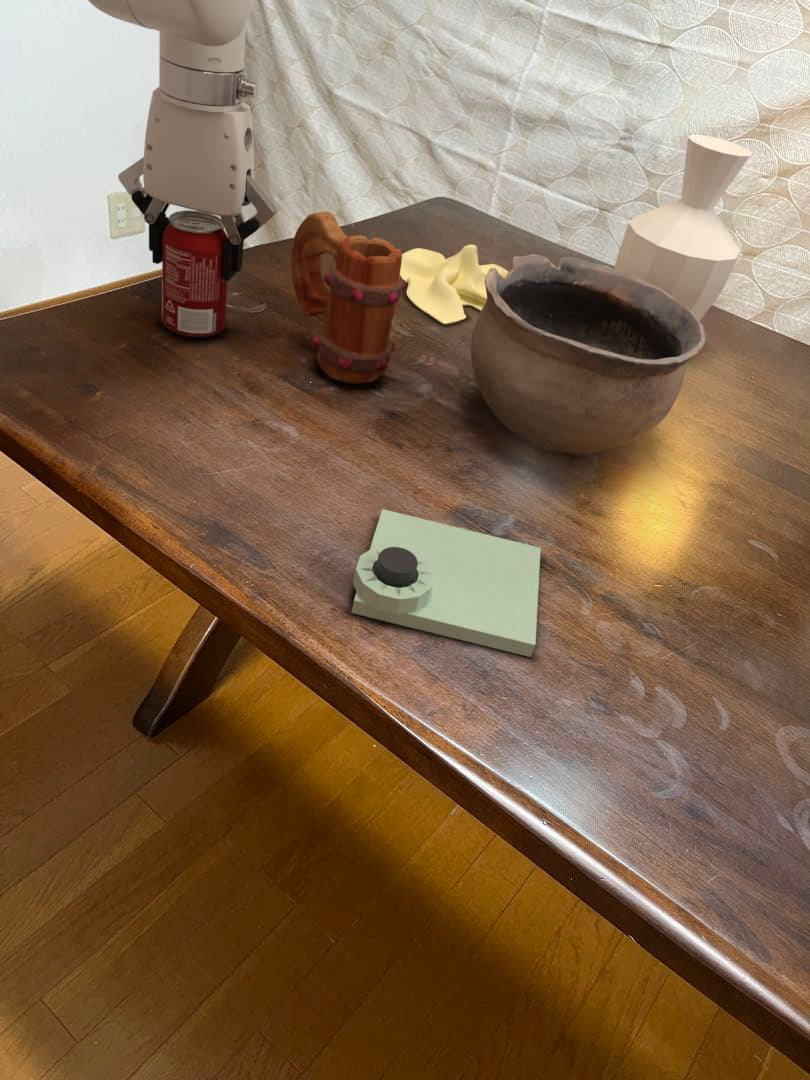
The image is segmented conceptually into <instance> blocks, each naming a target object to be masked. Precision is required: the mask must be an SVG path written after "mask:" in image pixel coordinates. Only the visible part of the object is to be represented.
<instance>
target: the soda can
mask: <svg viewBox="0 0 810 1080" xmlns="http://www.w3.org/2000/svg"><path fill="white" fill-rule="evenodd" d="M168 217H169V222H170V223H169V225H168V226H167V227H166V229H165V230H164V232H163V235H162V262H161V270H162V271H161V322H162V325H163V326H164V327H165V328H166V329H168V330H169V331H170V332H171V333H174V334H176V335H178V336H180V337H183V338H187V339H194V340H201V339H202V340H203V339H207V338H211V337H213V336H217V335H218V334H221V332H222V331H224V330H225V327H226V316H227V315H226V314H227V298H228V281H226V280H224V279H223V278H222V268H223V248H224V243H225V242H226V241H227V240H228V235H227V233H226V230H225V227H224V225H223V222H222V220H221V217H220V216H218V215H213V214H209V213H205V212H201V211H197V210H179V211H175V212H173V213H171V214H169V216H168Z"/></svg>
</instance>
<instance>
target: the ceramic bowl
mask: <svg viewBox="0 0 810 1080" xmlns="http://www.w3.org/2000/svg"><path fill="white" fill-rule="evenodd" d="M485 286H486V293H487V301H486V303H485V305H484V307H483V309H482V310H481V311H480V312H479V314H478V317H477V320H476V321H475V324H474V327H473V330H472V334H471V344H470V357H471V361H470V362H471V365H472V369H473V373H474V376H475V379H476V384H477V386H478V388H479V391H480V393H481V395H482V398H483V399H484V401H485V402H486V404H487V406H488V407H489V408H490V410H491V411H492V413H493V414H494V415H495V417H496V418H497V419H498V421H500V423H501V424H502V425H503V426H504V427H505V428H507V429H508V431H510V432H511V433H512V434H514V435H515V436H516V437H518V438H519V439H521V440H523V441H524V442H526V443H528V444H531V445H534V446H536V447H538V448H542V449H545V450H548V451H552V452H557V453H564V454H574V455H575V454H577V455H579V454H580V455H581V454H595V453H599V452H604V451H607V450H610V449H613V448H616V447H621V446H625V445H628V444H631V443H632V442H635V441H636V440H638V439H639V438H642V437H643V436H644V435H646V434H647V433H649V432H650V431H652V430H653V429H654V428H656V427H657V426H658V425H659V424H660V423H661V422H662V421H663V420H664V419H666V417H667V415H668V414H669V413H670V411H671V409H672V408H673V406H674V404H675V403H676V401H677V398H678V397H679V395H680V391H681V389H682V385H683V381H684V378H685V374H686V373H685V372H686V367H687V366H686V364H687V363H688V362H689V361H690V360H692V359H693V358H694V357H695V356H696V355H698V353H699V352H700V351H701V350H703V347H704V345H705V342H706V341H707V337H706V332H705V326H704V325H703V324H702V322H701V321H699V320H698V318H697V317H696V315H695V314H694V312H693V311H691V310H690V309H688V308H686V307H685V306H683V305H681V304H680V303H678V302H677V301H676V300H675V299H674V298H673V297H671V296H670V295H669V294H668V293H666V292H665V291H664V290H663V289H661V288H658V287H656V286H654V285H651V284H649V283H647V282H645V281H643V280H640V279H638V278H636V277H633V276H630V275H627V274H624V273H621V272H619V271H616V270H615V268H614V269H613V268H612V267H610V266H608V265H605V264H599V263H595V262H593V261H589V260H585V259H582V258H578V257H573V256H563V257H560V258H559V262H558V267H557V266H556V265H554V264H553V263H552V262H551V261H550V260H549V259H548V257H546V256H543V255H541V254H537V253H532V254H528V255H524V256H513V257H512V259H511V264H510V269H509V271H508V274H507V277H506V278H504V277H502V276H501V275H500V274H499V273H498V271H497V270H496V268H491V269H489V271H488V273H487V275H486V278H485Z"/></svg>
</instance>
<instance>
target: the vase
mask: <svg viewBox="0 0 810 1080" xmlns="http://www.w3.org/2000/svg"><path fill="white" fill-rule="evenodd" d="M752 155H753V152H751V151H750V150H749V149H748V148H747V147H744V146H743V145H740V144H738V143H736V142H733V141H729V140H726V139H723V138H719V137H717V136H716V137H715V136H709V135H705V134H689V135H688V136H687V144H686V151H685V161H684V162H685V163H684V170H683V178H682V179H683V181H682V187H681V188H682V189H681V197H680V199H678V200H675V201H673V202H670V203H667V204H664V205H661V206H658V207H657V208H654V209H651V210H648V211H646V212H644V213H641V214H638V215H635V216H634V217H633V218H632V219H631V220H630V221H629V222H628V223H627V227H626V229H625V232H624V236H623V238H622V241H621V244H620V247H619V250H618V253H617V258H616V261H615V263H614V270H616V271H619V272H621V273H624V274H627V275H630V276H633V277H636V278H638V279H640V280H643V281H645V282H647V283H649V284H651V285H654V286H656V287H658V288H661V289H663V290H664V291H665V292H666V293H668V294H669V295H670V296H671V297H673V298H674V299H675V300H676V301H677V302H678V303H680V304H681V305H683V306H685V307H686V308H688V309H690V310H691V311H693V312H694V314H695V315H696V317H697V318H698V320H699V322H701V320H702V318H703V317H704V316H705V315H706V313H707V312H708V311H709V310H710V308H711V307H712V306H713V304H714V303H715V302H716V301H717V299H718V298H719V296H720V294H721V293H722V292H723V290H724V288H725V287H726V284H727V282H728V280H729V278H730V276H731V274H732V271H733V270H734V267H735V265H736V263H737V260H738V258H739V256H740V254H741V250H740V248H739V247H738V245H737V243H736V242H735V240H734V238H733V237H732V236H731V234H730V232H729V231H728V229H727V227H726V226H725V224H724V223H723V221H722V220H721V219H720V217H719V215H718V214H717V212H716V210H715V207H716V205H717V204H718V203H719V202H720V200H721V198H722V197H723V195H724V194H725V193H726V192H727V190H728V188H729V187H730V186H731V184H732V183H733V181H734V180H735V178H736V177H738V175H739V173H740V172H741V170H742V169H743V167H744V166H745V165H746V163H747V162H748V161H749V159H750V157H751V156H752Z"/></svg>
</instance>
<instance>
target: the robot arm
mask: <svg viewBox="0 0 810 1080" xmlns="http://www.w3.org/2000/svg"><path fill="white" fill-rule="evenodd" d="M87 1H88V2H89V3H90V4H91V5H92V6H93V7H94V8H96V9H97V10H99V11H100V12H102V13H104V14H105V15H107V16H109V17H112V18H114V19H117V20H120V21H122V22H126V23H129V24H132V25H135V26H138V27H141V28H145V29H149V30H155V31H157V32H159V37H158V39H159V42H158V43H159V50H158V51H159V58H158V59H159V62H158V66H159V69H158V70H159V71H158V72H159V73H158V74H159V75H158V77H159V78H158V81H159V82H158V86H157V87H156V88H155V89H154V90H152V95H151V99H150V103H149V109H148V113H147V121H146V129H145V137H144V146H143V147H144V149H143V157H141V158H139V160H137V161H135V162H134V163H133V164H132V165H130V166H128V167H127V168H126V169H124V170H123V171H121V172H119V174H118V175H117V178H118V180H119V182H120V183H121V185H122V186H123V189H125V191H126V192H127V194H129V195H130V197H131V200H132V203H133V204H134V205H135V207H137V209H138V210H139V212H140V213H141V214H142V215H143V220H144V222H145V223H146V224H148V250H149V251H150V252H151V253H152V258H151V259H152V260H151V261H152V263H153V264H155V265H159V264H162V235H163V232H164V230H165V229H166V227H167V226H168V225H169V223H170V222H169V216H167V214H166V212H167V211H168V209H169V207H170V206H171V205H173V206H176V207H181V208H185V209H188V210H191V211H200V212H205V213H209V214H212V215H215V216H217V217H219V218H220V219H221V220H222V222H223V225H224V231H225V233H226V235H227V236H228V240H227V241H226V242H225V243H224V248H223V268H222V278H223V279H224V280H226V281H227V282H230V281H231V279H232V278H233V277H234V276H236V274H237V273H239V272H241V270H242V268H243V258H244V244H245V243H244V242H245V240H246V239H247V238H249V237H250V236H252V235H253V234H254V233H256V232H257V231H258V230H259V229H261V227H263V226H264V225H265V224H266V223H267V222H269V221H270V220H271V219H272V218H273V217H274V216H275V215H276V214H277V207H276V206H275V204H274V203H273V202H272V200H270V198H269V197H268V196H267V195H266V193H265V192H264V191H263V190H262V188H261V187H260V185H258V183H257V182H256V181H255V154H254V153H255V150H254V149H255V148H254V147H255V145H254V131H253V130H254V129H253V119H252V112H251V106H250V105H249V104H247V103H244V102H243V101H244V99H248V98H251V99H256V98H257V95H258V90H259V89H258V88H259V87H258V82H254V81H251V80H250V79H249V78H247V75H246V71H247V70H246V69H244V68H245V67H244V65H245V52H246V51H245V49H246V32H247V23H248V21H249V18H250V15H251V10H252V5H253V4H252V3H253V0H87ZM142 175H143V177H142V178H143V179H142V180H143V184H142V182H141V179H140V178H141V176H142ZM251 204H252V205H253V206H254V208H255V209H256V213H255V214H253V215H252V216H251V217H250V218H249V219H246V220H245V216H244V214H243V212H242V208H243V207H246V206H248V205H251Z"/></svg>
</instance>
